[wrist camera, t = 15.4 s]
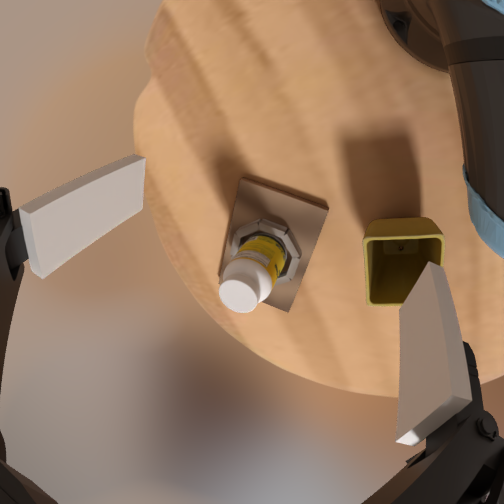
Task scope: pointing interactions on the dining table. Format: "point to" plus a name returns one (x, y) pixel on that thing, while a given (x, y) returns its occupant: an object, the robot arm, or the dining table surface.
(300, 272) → the collar base
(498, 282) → the dining table surface
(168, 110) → the dining table surface
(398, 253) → the flower pot
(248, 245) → the pill bottle
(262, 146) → the dining table surface
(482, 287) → the dining table surface
